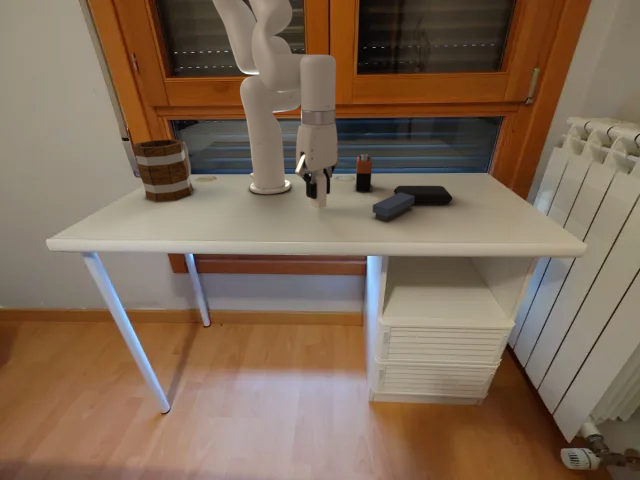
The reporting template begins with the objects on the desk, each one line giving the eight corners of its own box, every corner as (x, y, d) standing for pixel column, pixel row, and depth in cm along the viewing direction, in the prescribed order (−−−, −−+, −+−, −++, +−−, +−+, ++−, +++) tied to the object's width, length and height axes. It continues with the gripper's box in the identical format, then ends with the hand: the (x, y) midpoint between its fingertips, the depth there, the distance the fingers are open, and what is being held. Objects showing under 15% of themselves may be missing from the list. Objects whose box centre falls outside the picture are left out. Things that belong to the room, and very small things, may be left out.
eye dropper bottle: (327, 200, 84) (328, 155, 78) (326, 209, 79) (326, 161, 73) (310, 200, 84) (310, 154, 78) (308, 208, 79) (307, 160, 73)
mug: (178, 202, 90) (166, 148, 83) (135, 200, 92) (120, 148, 85) (210, 182, 107) (202, 136, 100) (174, 180, 109) (163, 135, 102)
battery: (370, 185, 101) (371, 153, 97) (370, 192, 95) (372, 158, 91) (356, 184, 102) (357, 153, 97) (355, 191, 96) (356, 158, 91)
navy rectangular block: (387, 223, 75) (388, 209, 74) (372, 218, 78) (372, 204, 76) (413, 209, 83) (415, 196, 81) (398, 205, 86) (399, 192, 84)
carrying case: (442, 193, 94) (391, 192, 95) (444, 182, 92) (392, 182, 93) (453, 206, 84) (397, 205, 85) (455, 195, 83) (398, 195, 84)
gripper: (331, 113, 79) (329, 183, 88) (278, 120, 68) (283, 200, 77) (354, 116, 74) (350, 190, 83) (302, 124, 64) (304, 208, 73)
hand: (318, 194), depth 80 cm, fingers closed on eye dropper bottle, 4 cm apart
